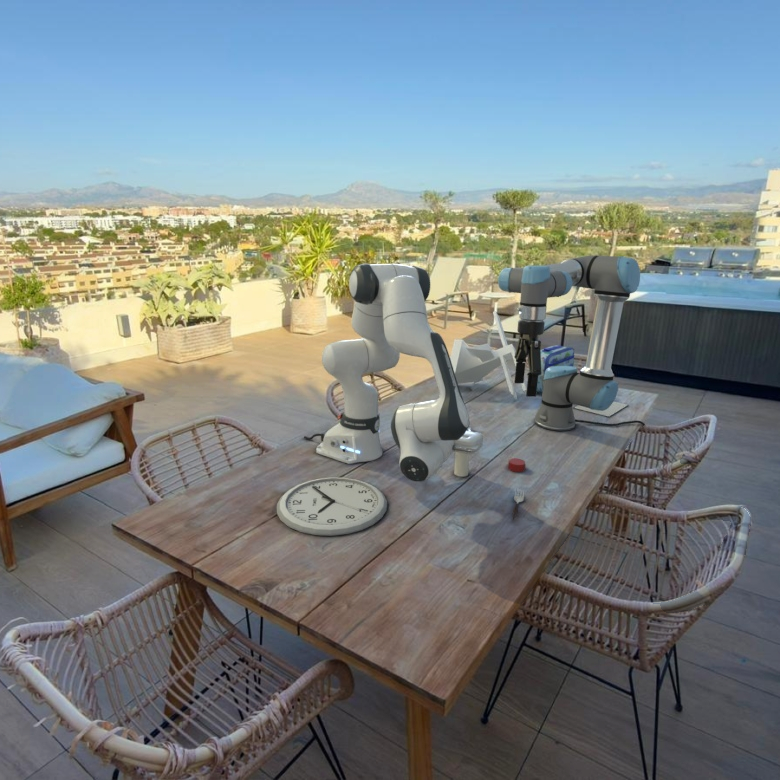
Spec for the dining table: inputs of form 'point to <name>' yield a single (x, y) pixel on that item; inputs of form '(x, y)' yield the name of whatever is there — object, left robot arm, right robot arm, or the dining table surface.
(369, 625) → the dining table surface
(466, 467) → the jar
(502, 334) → the white plastic object
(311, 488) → the wall clock
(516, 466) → the lid
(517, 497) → the fork
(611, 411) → the invitation card
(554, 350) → the lunch box
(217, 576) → the dining table surface
